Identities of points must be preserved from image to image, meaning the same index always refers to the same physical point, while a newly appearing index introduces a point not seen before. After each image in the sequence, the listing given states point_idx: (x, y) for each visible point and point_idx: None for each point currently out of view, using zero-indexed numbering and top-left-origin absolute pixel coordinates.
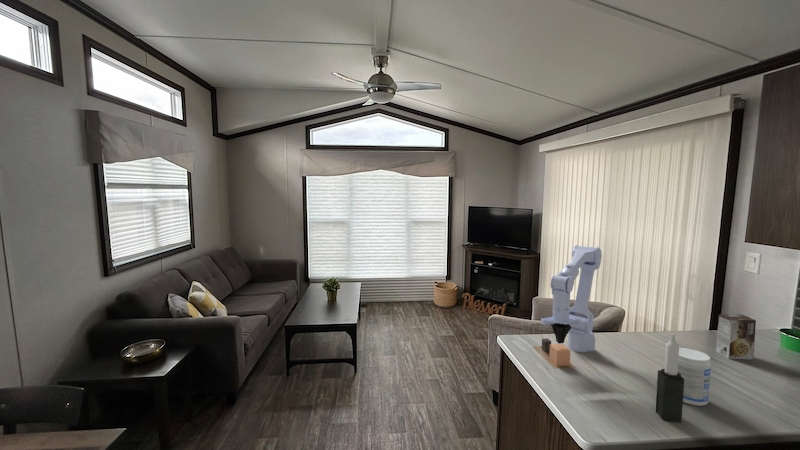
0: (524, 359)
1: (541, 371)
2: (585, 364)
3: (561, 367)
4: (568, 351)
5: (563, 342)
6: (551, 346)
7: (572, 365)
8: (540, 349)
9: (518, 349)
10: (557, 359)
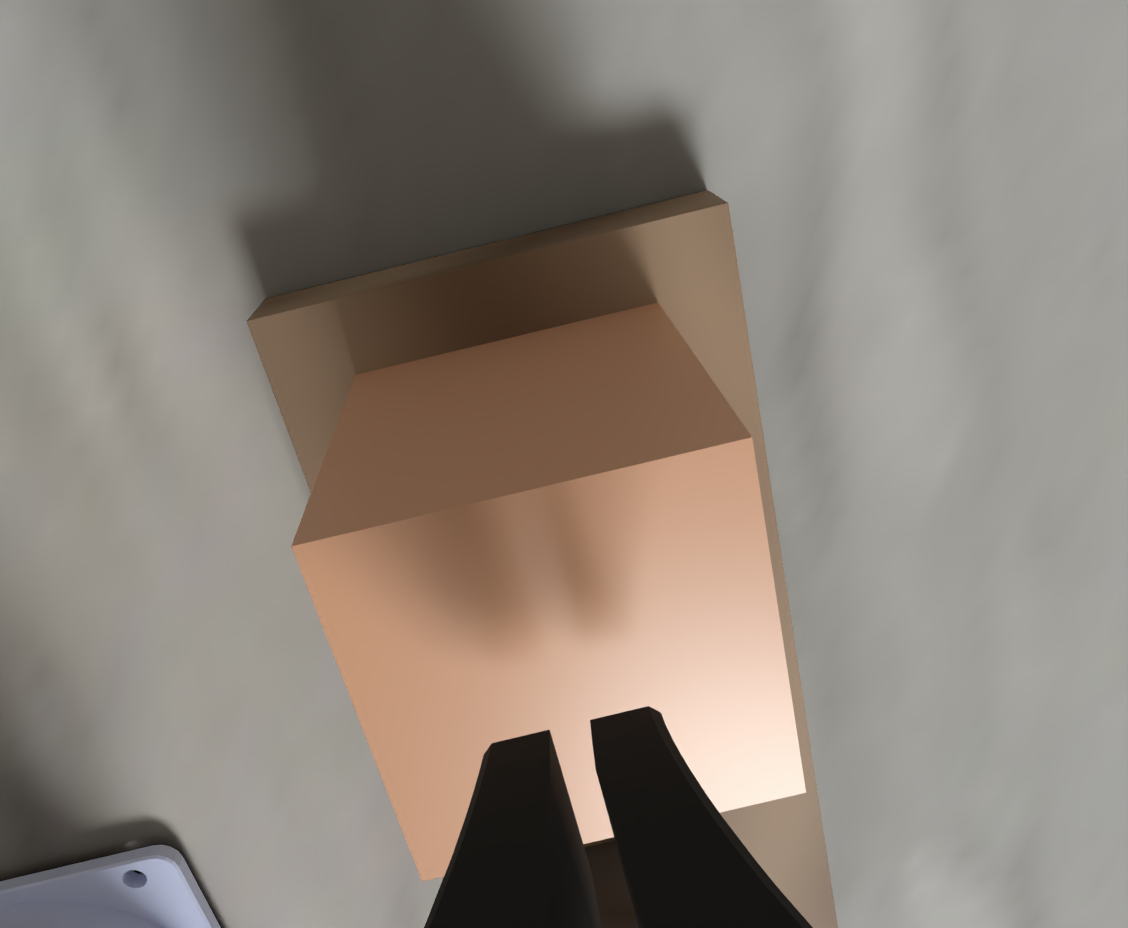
0: (1084, 592)
1: (961, 179)
2: (13, 597)
3: (564, 260)
4: (360, 514)
5: (495, 759)
6: (789, 710)
7: (296, 392)
8: None
9: (1034, 887)
10: (668, 350)
